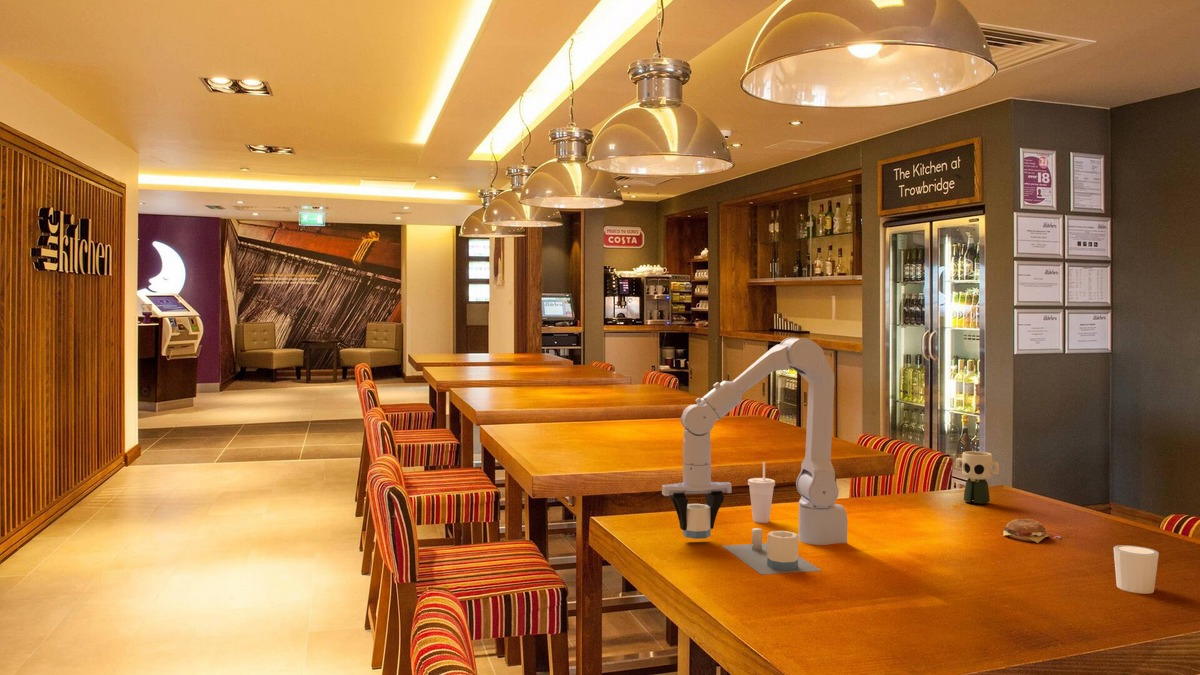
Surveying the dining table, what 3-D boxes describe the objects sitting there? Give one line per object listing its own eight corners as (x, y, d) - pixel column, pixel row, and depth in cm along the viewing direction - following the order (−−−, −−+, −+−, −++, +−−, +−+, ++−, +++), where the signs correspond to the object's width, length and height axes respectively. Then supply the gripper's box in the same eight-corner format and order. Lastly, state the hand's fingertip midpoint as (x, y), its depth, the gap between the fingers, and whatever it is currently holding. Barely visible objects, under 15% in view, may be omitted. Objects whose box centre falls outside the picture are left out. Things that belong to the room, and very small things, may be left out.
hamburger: (1055, 551, 179) (1055, 523, 179) (988, 538, 189) (988, 511, 189) (1080, 540, 188) (1081, 512, 188) (1015, 527, 199) (1015, 502, 198)
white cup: (1158, 597, 148) (1159, 556, 148) (1112, 590, 152) (1112, 551, 152) (1157, 586, 154) (1158, 547, 154) (1113, 580, 158) (1113, 542, 158)
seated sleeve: (789, 561, 164) (789, 530, 164) (801, 569, 159) (801, 537, 159) (763, 563, 163) (764, 531, 162) (775, 571, 158) (775, 538, 157)
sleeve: (704, 531, 181) (704, 503, 181) (713, 537, 176) (713, 508, 176) (680, 533, 180) (680, 504, 180) (688, 539, 175) (688, 509, 175)
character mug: (950, 501, 224) (950, 452, 224) (960, 497, 230) (961, 449, 229) (993, 508, 217) (994, 457, 217) (1003, 504, 222) (1004, 454, 222)
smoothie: (775, 525, 199) (775, 464, 198) (746, 523, 200) (747, 463, 200) (775, 518, 205) (775, 460, 205) (747, 517, 206) (748, 459, 206)
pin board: (776, 549, 178) (776, 523, 177) (822, 578, 158) (822, 548, 158) (721, 553, 175) (721, 526, 175) (761, 582, 155) (761, 552, 155)
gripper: (723, 458, 183) (722, 522, 183) (657, 461, 180) (657, 525, 180) (735, 464, 176) (735, 530, 177) (667, 467, 173) (667, 534, 173)
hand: (696, 528), depth 178 cm, fingers closed on sleeve, 5 cm apart
